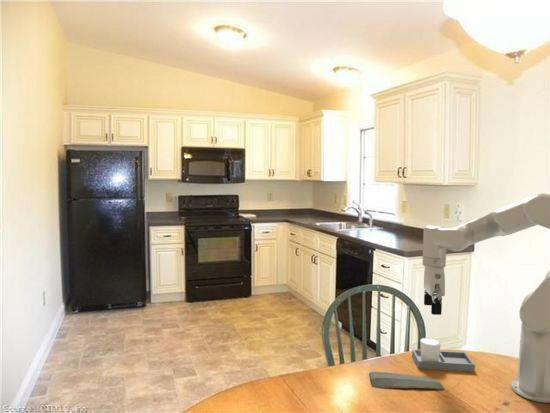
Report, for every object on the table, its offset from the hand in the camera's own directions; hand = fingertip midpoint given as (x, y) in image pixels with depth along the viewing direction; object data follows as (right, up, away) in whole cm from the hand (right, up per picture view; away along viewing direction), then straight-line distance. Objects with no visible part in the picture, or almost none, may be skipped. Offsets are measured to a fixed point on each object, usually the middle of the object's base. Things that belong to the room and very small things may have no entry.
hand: (432, 309), depth 146 cm
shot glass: (0, -19, +2) cm, 19 cm away
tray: (+4, -19, +2) cm, 20 cm away
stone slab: (-13, -21, -11) cm, 27 cm away
